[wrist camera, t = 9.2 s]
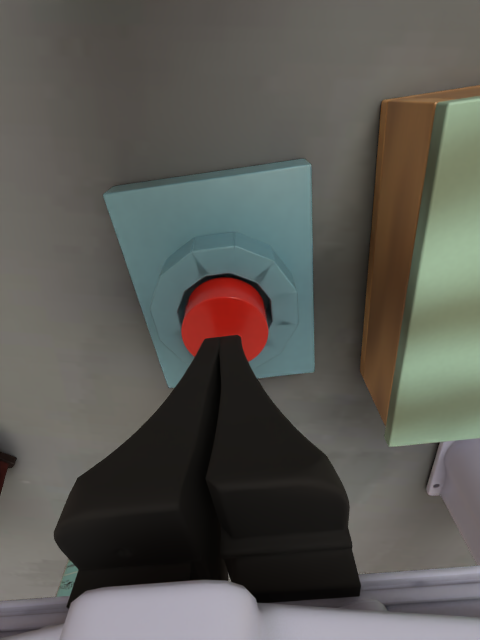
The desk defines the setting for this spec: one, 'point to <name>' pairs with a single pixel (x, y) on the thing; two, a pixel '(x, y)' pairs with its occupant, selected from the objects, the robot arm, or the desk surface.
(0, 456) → the mate gourd
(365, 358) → the box
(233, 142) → the desk surface
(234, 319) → the button
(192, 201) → the block
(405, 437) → the lid
